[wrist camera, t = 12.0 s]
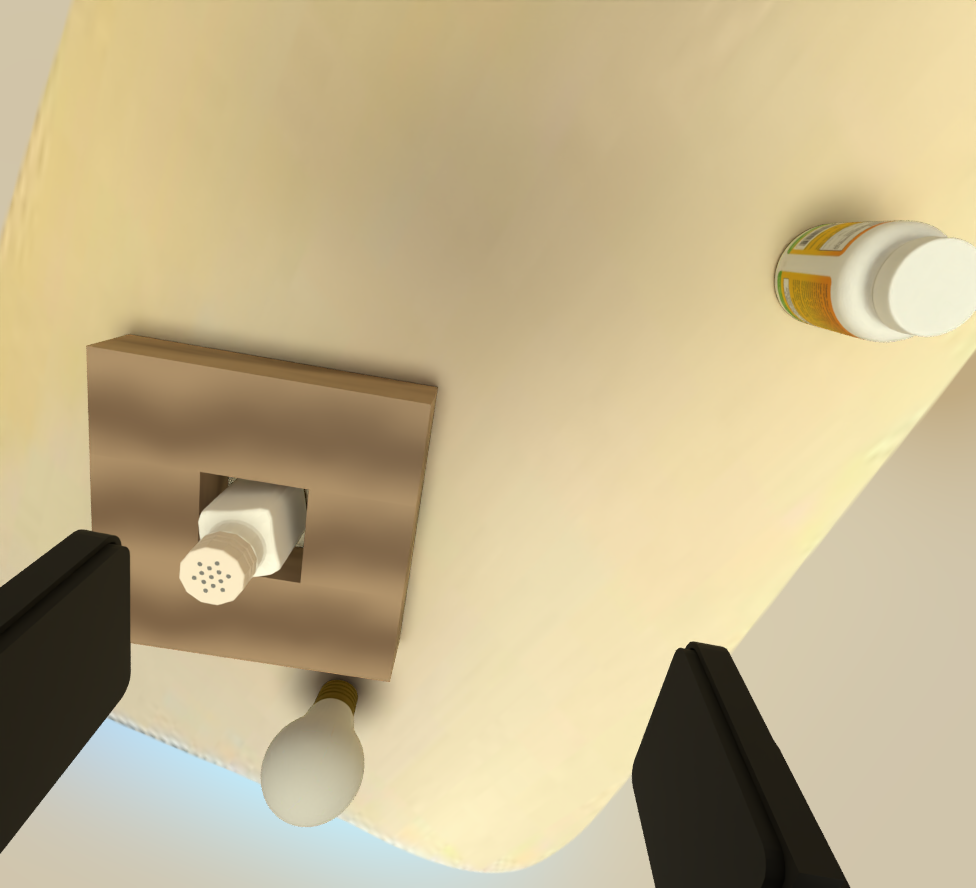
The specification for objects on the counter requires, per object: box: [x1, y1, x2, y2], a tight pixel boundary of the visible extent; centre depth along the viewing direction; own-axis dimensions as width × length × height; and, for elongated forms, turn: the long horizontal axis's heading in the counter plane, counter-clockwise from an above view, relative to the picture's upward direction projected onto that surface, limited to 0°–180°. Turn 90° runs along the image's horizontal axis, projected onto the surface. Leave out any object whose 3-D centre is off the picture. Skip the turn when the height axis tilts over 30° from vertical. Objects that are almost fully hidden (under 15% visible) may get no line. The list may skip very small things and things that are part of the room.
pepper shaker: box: [179, 478, 307, 605], centre depth 35 cm, size 4×4×10 cm
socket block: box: [86, 334, 438, 682], centre depth 37 cm, size 18×18×4 cm
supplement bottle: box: [775, 221, 976, 342], centre depth 30 cm, size 5×5×10 cm
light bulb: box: [261, 680, 364, 827], centre depth 39 cm, size 6×6×10 cm
